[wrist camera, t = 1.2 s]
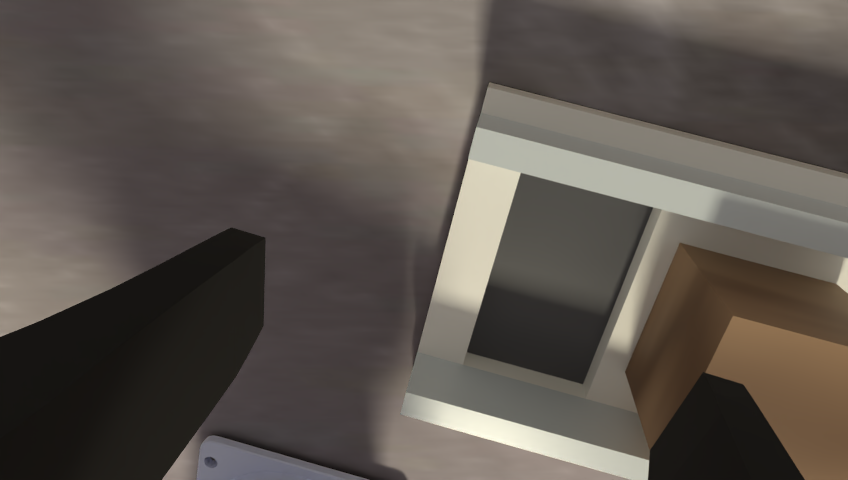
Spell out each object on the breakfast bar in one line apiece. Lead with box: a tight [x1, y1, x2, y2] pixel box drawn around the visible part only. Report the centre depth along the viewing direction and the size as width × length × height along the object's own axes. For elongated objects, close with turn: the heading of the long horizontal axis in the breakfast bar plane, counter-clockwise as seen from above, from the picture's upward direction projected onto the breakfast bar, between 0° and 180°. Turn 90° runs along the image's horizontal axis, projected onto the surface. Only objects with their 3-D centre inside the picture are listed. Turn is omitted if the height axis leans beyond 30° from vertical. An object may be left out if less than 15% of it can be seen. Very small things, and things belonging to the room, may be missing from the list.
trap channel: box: [400, 82, 848, 480], centre depth 17 cm, size 10×19×3 cm, turn 77°
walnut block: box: [625, 243, 848, 480], centre depth 16 cm, size 4×4×4 cm
